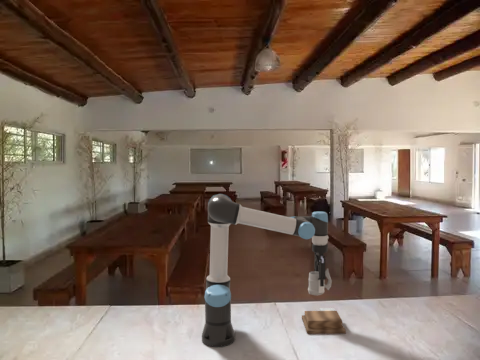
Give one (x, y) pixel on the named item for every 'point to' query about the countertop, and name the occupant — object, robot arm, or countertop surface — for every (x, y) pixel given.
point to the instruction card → (326, 309)
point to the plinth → (323, 322)
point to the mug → (317, 282)
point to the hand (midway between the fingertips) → (319, 289)
